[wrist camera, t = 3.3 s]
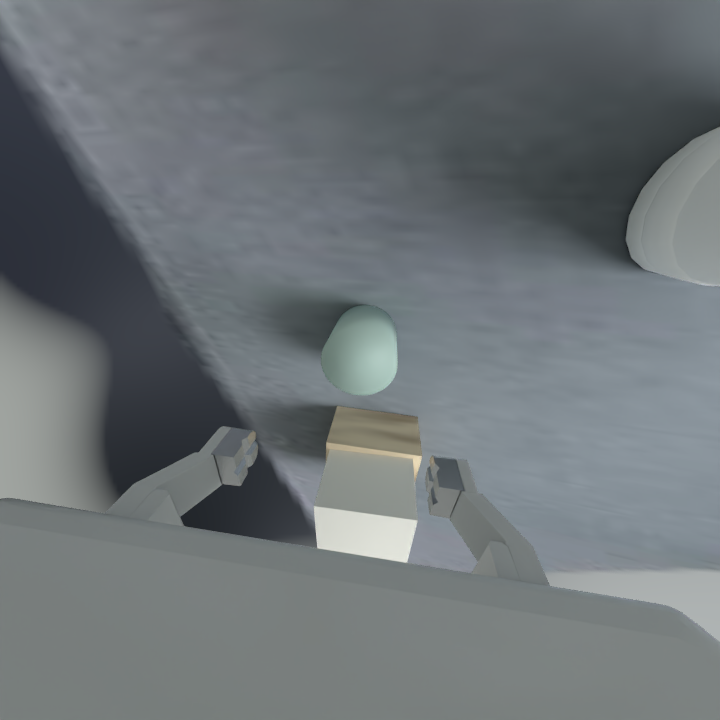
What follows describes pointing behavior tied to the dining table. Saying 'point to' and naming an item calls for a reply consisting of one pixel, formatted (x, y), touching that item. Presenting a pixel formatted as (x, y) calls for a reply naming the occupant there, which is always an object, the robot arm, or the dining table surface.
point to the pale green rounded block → (361, 351)
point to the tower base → (375, 434)
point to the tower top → (366, 505)
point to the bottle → (681, 215)
